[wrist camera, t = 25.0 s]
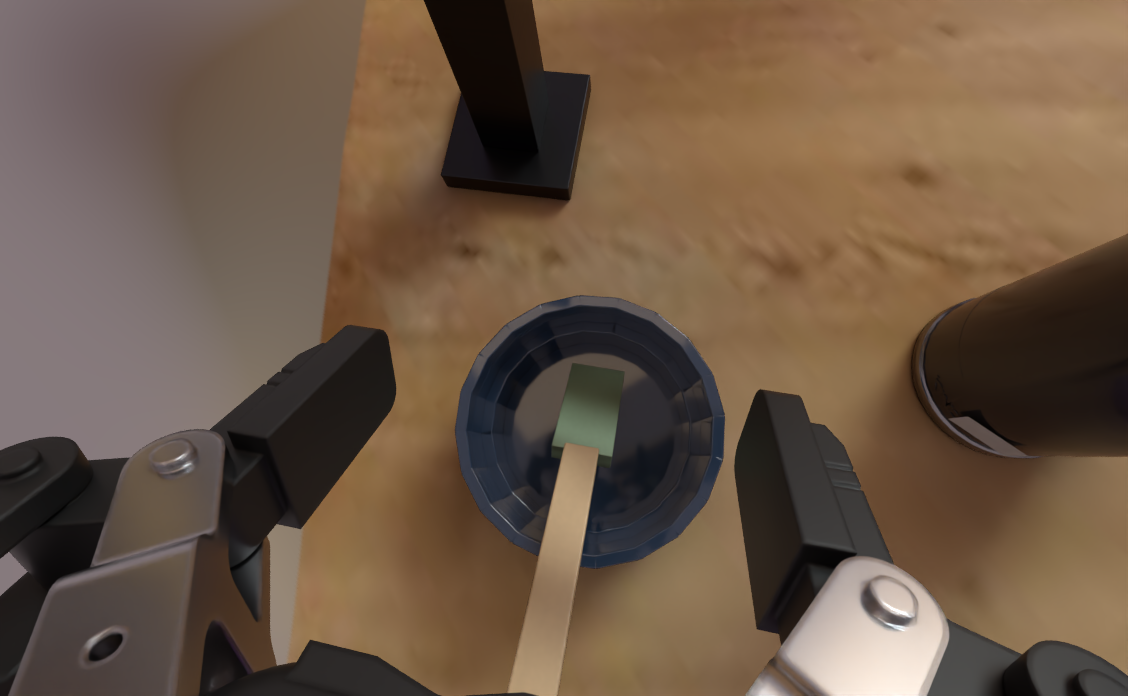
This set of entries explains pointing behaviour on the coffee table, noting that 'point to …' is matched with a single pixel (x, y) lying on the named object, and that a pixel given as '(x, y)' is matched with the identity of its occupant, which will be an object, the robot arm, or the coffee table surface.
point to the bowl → (643, 435)
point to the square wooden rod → (566, 525)
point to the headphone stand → (508, 102)
